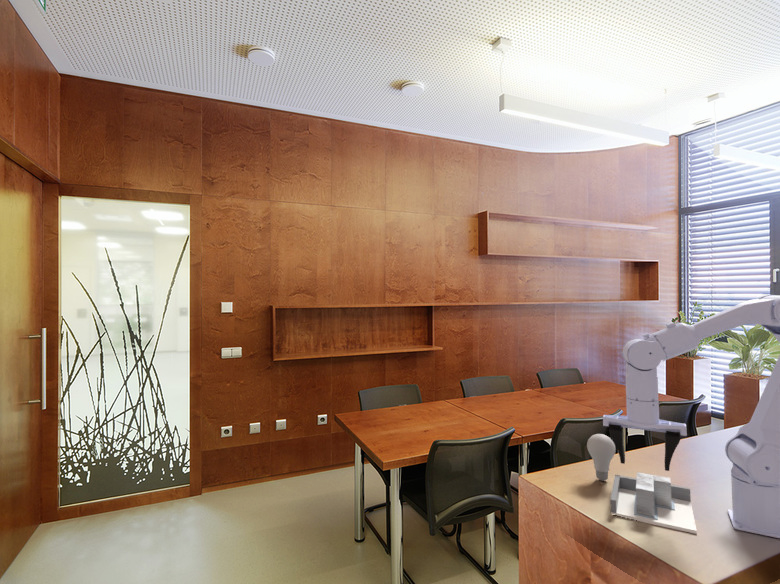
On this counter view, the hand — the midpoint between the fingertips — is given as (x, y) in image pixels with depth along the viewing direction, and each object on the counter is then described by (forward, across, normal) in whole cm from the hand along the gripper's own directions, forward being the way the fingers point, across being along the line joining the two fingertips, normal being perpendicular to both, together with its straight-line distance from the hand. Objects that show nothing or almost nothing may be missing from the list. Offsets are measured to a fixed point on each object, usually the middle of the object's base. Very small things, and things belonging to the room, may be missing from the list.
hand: (644, 465), depth 85 cm
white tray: (+9, -1, -2) cm, 10 cm away
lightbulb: (+10, +9, -12) cm, 18 cm away
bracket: (+9, -2, -1) cm, 9 cm away
